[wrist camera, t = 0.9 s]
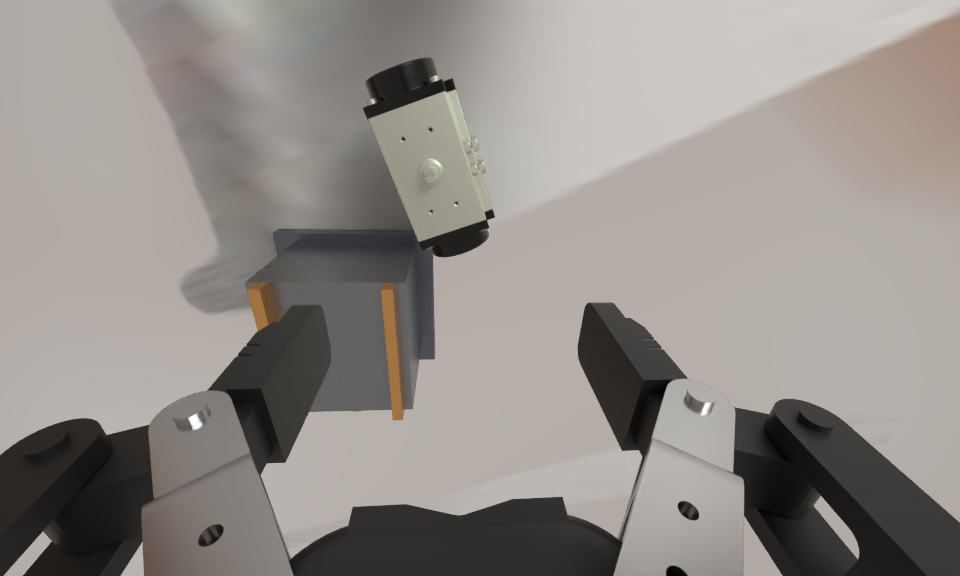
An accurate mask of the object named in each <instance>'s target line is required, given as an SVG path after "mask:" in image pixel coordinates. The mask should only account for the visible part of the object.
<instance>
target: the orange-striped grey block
mask: <svg viewBox="0 0 960 576" xmlns="http://www.w3.org/2000/svg"><path fill="white" fill-rule="evenodd" d="M273 234H274V239H275V243H276V248H277V253H278V256H277V257H276V258H275V259H273V260H272V261H271V262H270V263H269V264H267V265H266V266H265V267H264V268H262V269H261V270H260V271H259V272H257V273H256V274H255V275H254V276H253V277H251V278H250V279H249V280H248V281H246V282H245V283H246V287H247V291H248V295H249V299H250V303H251V306H252V310H253V314H254V318H255V321H256V325H257V328H258V331H259V330H261V329H263V328H264V327H266V326H267V325H269V324H270V323H272V322H279V321H280V319H281V318H282V317H283V316H284V314H285V313H286V312H287V311H288V309H289V308H290V307H291V306H292V305H321V306H322V308H323V311H324V315H325V320H326V325H327V330H328V335H329V340H330V345H331V363H330V367H329V369H328V372H327V374H326V376H325V378H324V380H323V382H322V385H321V387H320V389H319V391H318V393H317V395H316V398H315V400H314V402H313V404H312V406H311V408H310V410H309V412H316V411H363V410H392V415H393V420H403V415H404V409H413V403H414V395H415V388H416V380H417V373H418V365H419V359H435V332H434V289H433V251H432V248H430V249H424V250H422V249H421V247H420V245H419V242H418V240H417V237H416V235H415V233H414V231H391V230H313V229H278V230H277V231H275V232H274V233H273Z"/></svg>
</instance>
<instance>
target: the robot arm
mask: <svg viewBox="0 0 960 576" xmlns="http://www.w3.org/2000/svg"><path fill="white" fill-rule="evenodd" d="M578 357H579V361H580V364H581V366H582V368H583V370H584V373H585V375H586V377H587V379H588V381H589V383H590V385H591V387H592V389H593V391H594V393H595V395H596V397H597V399H598V401H599V404H600V406H601V408H602V410H603V412H604V414H605V416H606V418H607V420H608V422H609V424H610V426H611V428H612V430H613V433H614V435H615V437H616V439H617V441H618V443H619V445H620V447H621V449H622V451H627V450H639V451H640V453H641V455H642V456H643V457H642V460H641V463H640V466H639V470H638V473H637V476H636V480H635V483H634V486H633V489H632V493H631V496H630V499H629V503H628V506H627V509H626V513H625V516H624V519H623V523H622V526H621V529H620V532H619V535H618V538H616V537H614V536H613V535H612V534H610V533H608V532H607V531H605V530H604V529H602V528H600V527H598V526H597V525H594V524H592V523H590V522H588V521H586V520H583V519H580V518H577V517H574V516H570V515H567V512H566V509H565V505H564V501H563V498H562V497H552V498H531V499H512V500H509V501H506V502H503V503H500V504H497V505H494V506H490V507H487V508H484V509H481V510H478V511H475V512H472V513H469V514H466V515H460V516H457V515H451V514H447V513H442V512H438V511H433V510H429V509H424V508H420V507H415V506H411V505H406V504H405V505H384V506H365V507H353V509H352V513H351V517H350V521H349V525H348V526H347V527H343V528H340V529H338V530H336V531H334V532H331V533H329V534H327V535H325V536H323V537H322V538H320V539H318V540H316V541H314V542H313V543H311V544H310V545H309V546H307V547H306V548H304V549H303V550H301V551H300V552H299V553H298V554H296V555H295V556H294V557H293V558H292V559H291V557H290V555H289V552H288V549H287V547H286V544H285V541H284V538H283V536H282V533H281V530H280V527H279V525H278V522H277V519H276V516H275V514H274V511H273V508H272V506H271V503H270V500H269V497H268V494H267V492H266V489H265V486H264V484H263V481H262V478H261V476H260V475H261V473H262V471H263V469H264V467H265V465H266V463H285V462H286V460H287V458H288V456H289V454H290V452H291V449H292V447H293V445H294V443H295V441H296V438H297V436H298V434H299V432H300V430H301V428H302V426H303V423H304V421H305V419H306V417H307V415H308V412H309V410H310V408H311V406H312V404H313V402H314V400H315V398H316V395H317V393H318V391H319V389H320V387H321V385H322V382H323V380H324V378H325V376H326V374H327V372H328V369H329V367H330V363H331V345H330V340H329V335H328V330H327V325H326V320H325V315H324V311H323V308H322V306H321V305H292V306H291V307H290V308H289V309H288V311H287V312H286V313H285V314H284V316H283V317H282V318H281V319H280V321H279V322H272V323H270V324H269V325H267V326H266V327H264V328H263V329H261V330H259V331H258V332H257V333H256V334H255V335H254V336H253V337H252V338H251V340H250V341H249V342H248V343H247V346H246V347H244V348H243V349H242V350H241V352H240V353H239V354H238V357H235V359H234V360H233V361H232V362H231V363H230V364H229V366H228V367H227V368H226V369H225V370H224V372H223V373H222V374H221V375H220V376H219V377H218V379H217V380H216V381H215V382H214V383H213V384H212V386H211V387H210V388H209V389H208V390H207V391H204V392H199V393H194V394H191V395H188V396H186V397H183V398H181V399H179V400H177V401H175V402H174V403H172V404H170V405H168V406H167V407H166V408H164V409H163V410H162V411H161V412H160V413H158V414H157V415H156V417H155V418H154V419H153V420H152V422H151V423H150V425H147V426H143V427H138V428H134V429H130V430H126V431H122V432H118V433H114V434H110V435H106V433H105V432H104V430H103V429H102V427H101V425H100V424H99V423H98V422H97V421H95V420H93V419H86V418H84V419H73V420H68V421H64V422H61V423H57V424H54V425H52V426H49V427H46V428H44V429H41V430H39V431H37V432H35V433H33V434H31V435H29V436H27V437H26V438H24V439H22V440H20V441H19V442H17V443H16V444H14V445H13V446H11V447H10V448H9V449H7V450H6V451H5V452H4V453H3V454H1V455H0V576H4V574H5V573H6V572H7V571H8V570H9V569H10V567H11V566H12V565H13V564H14V563H15V562H16V561H17V559H18V558H19V557H20V556H21V555H22V554H23V553H24V552H25V551H26V549H27V548H28V547H29V546H30V545H31V544H32V543H33V542H34V540H35V539H36V538H37V537H38V536H39V535H40V534H41V533H42V532H44V533H45V534H46V535H47V536H48V537H49V538H50V539H51V541H52V542H51V543H50V545H49V546H48V547H47V548H46V549H45V550H44V552H43V553H42V554H41V555H40V556H39V557H38V559H37V560H36V561H35V562H34V563H33V565H32V566H31V567H30V568H29V569H28V570H27V572H26V573H25V574H24V575H23V576H120V575H121V574H122V572H123V571H124V569H125V568H126V566H127V565H128V563H129V561H130V560H131V558H132V557H133V555H134V554H135V552H136V551H137V549H138V547H139V546H140V544H141V543H142V541H143V559H144V576H743V567H744V564H743V563H744V516H745V518H746V519H747V521H748V522H749V524H750V525H751V527H752V529H753V530H754V532H755V533H756V535H757V536H758V538H759V539H760V541H761V543H762V544H763V546H764V547H765V549H766V550H767V552H768V553H769V555H770V557H771V558H772V560H773V561H774V563H775V564H776V566H777V567H778V569H779V571H780V572H781V574H782V575H783V576H960V523H959V522H958V521H957V520H956V519H955V518H954V517H952V516H951V515H950V514H949V513H948V512H947V511H946V510H945V509H943V508H942V507H941V506H940V505H939V504H937V502H935V501H934V500H933V499H932V498H931V497H930V496H929V495H927V494H926V493H925V492H924V491H923V490H921V488H919V487H918V486H917V485H916V484H915V483H914V482H913V481H911V480H910V479H909V478H908V477H907V476H906V475H905V474H903V473H902V472H901V471H900V470H899V469H898V468H896V467H895V466H894V465H893V464H892V463H891V462H890V461H889V460H887V459H886V458H885V457H884V456H883V455H882V454H881V453H879V452H878V451H877V450H876V449H875V448H874V447H873V446H871V445H870V444H869V443H868V442H867V441H866V440H865V439H863V438H862V437H861V436H860V435H859V434H858V433H857V432H855V431H854V430H853V429H852V428H851V427H850V426H849V425H847V424H846V423H845V422H844V421H843V420H841V419H840V418H839V417H837V416H836V415H834V414H832V413H831V412H829V411H827V410H825V409H823V408H821V407H819V406H816V405H814V404H811V403H808V402H805V401H801V400H795V399H783V400H779V401H778V402H776V403H775V405H774V407H773V409H772V410H771V412H770V414H765V413H759V412H755V411H749V410H745V409H740V408H735V407H734V406H733V404H732V402H731V401H730V400H729V399H728V398H727V397H726V396H725V395H724V394H723V393H722V392H720V391H719V390H717V389H716V388H714V387H712V386H710V385H708V384H705V383H703V382H700V381H696V380H692V379H688V378H687V377H686V376H685V375H684V374H683V372H682V371H681V370H680V369H679V368H678V366H677V365H676V364H675V363H674V362H673V360H672V359H671V358H670V357H669V356H668V355H667V353H666V352H665V351H664V350H662V349H661V346H660V345H659V344H658V343H657V341H656V340H654V338H653V337H652V336H651V334H650V333H649V332H648V331H647V330H646V328H645V327H643V326H642V325H640V324H639V323H637V322H636V321H634V320H632V319H631V318H625V317H624V315H623V314H622V313H621V312H620V310H619V309H618V308H617V307H616V305H615V304H614V303H588V304H587V305H586V306H585V310H584V315H583V320H582V326H581V331H580V337H579V342H578ZM820 496H822V497H823V498H824V500H825V501H826V502H827V503H828V504H829V505H830V506H831V508H832V509H833V510H834V511H835V512H836V513H837V515H838V516H839V517H840V518H841V519H842V520H843V521H844V523H845V524H846V525H847V526H848V527H849V529H850V530H851V531H852V533H853V534H854V536H855V538H856V540H857V543H858V546H859V552H860V554H859V559H857V558H856V557H855V556H854V554H853V553H852V552H851V551H850V550H849V548H848V547H847V546H846V545H845V544H844V543H843V541H842V540H841V539H840V538H839V536H838V535H837V534H836V533H835V532H834V530H833V529H832V528H831V527H830V525H829V524H828V523H827V522H826V521H825V520H824V518H823V517H822V516H821V515H820V513H819V512H818V511H817V510H816V509H815V508H814V504H815V503H816V501H817V500H818V499H819V497H820Z"/></svg>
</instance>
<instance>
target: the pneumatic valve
mask: <svg viewBox="0 0 960 576" xmlns="http://www.w3.org/2000/svg"><path fill="white" fill-rule="evenodd" d="M365 84H366V86H367V89H368V91H369V94H370V96H371V99H370V100H367V104H368V106H367V107H364V108H363V110H364V112H365V115H366V117H367V120H368V122H369V124H370V127H371V129H372V132H373V134H374V136H375V139H376V141H377V144H378V146H379V148H380V151H381V153H382V156H383V158H384V160H385V163H386V165H387V168H388V170H389V172H390V175H391V177H392V180H393V182H394V184H395V187H396V189H397V192H398V194H399V197H400V199H401V201H402V204H403V206H404V209H405V211H406V213H407V216H408V218H409V221H410V223H411V225H412V228H413V230H414V233H415V235H416V237H417V240H418V242H419V245H420V247H421V249H422V250H424V249H430V248H432V251H433V253H434V255H436V256H438V257H450V256H456V255H459V254H463V253H465V252H468V251H470V250H472V249H474V248H476V247H478V246H480V245H481V244H482V243H484V242H485V241H486V240H487V239H488V236H489V233H488V230H487V229H488V228H489V225H488V222H487V220H488V219H491V218H494V217H495V216H494V212H493V209H492V206H491V202H490V199H489V196H488V193H487V189H486V186H485V183H484V180H483V176H482V173H485V172H486V170H485V166H484V163H483V160H482V159H479V160H477V157H476V153H475V152H476V151H478V150H479V146H478V143H477V140H476V137H470V134H469V130H468V127H467V124H466V121H465V117H464V114H463V111H462V108H461V104H460V101H459V98H458V94H457V91H456V88H455V85H454V81H453V78H452V79H449V80H447V81H444V82H443V80H442V79H441V80H440V79H439V76H438V74H437V71H436V68H435V65H434V62H433V59H432V58H421V59H416V60H412V61H409V62H406V63H402V64H399V65H397V66H394V67H391V68H389V69H386V70H384V71H382V72H379V73H377V74H375V75H373V76H372V77H370V78H369V79H367V80H366V82H365Z"/></svg>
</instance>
